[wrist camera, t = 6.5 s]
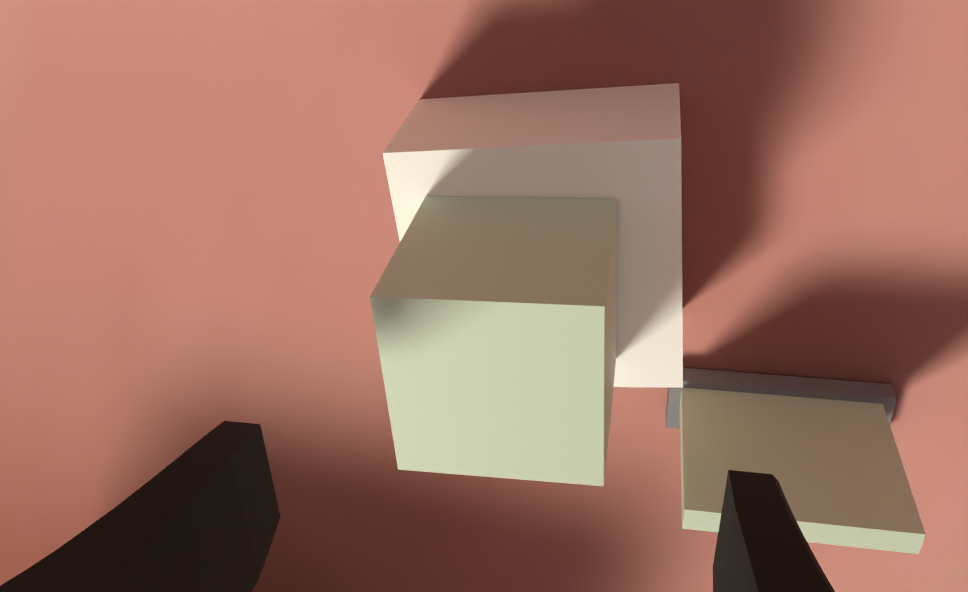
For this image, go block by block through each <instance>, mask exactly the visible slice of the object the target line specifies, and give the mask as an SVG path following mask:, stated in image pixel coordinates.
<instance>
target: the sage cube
mask: <svg viewBox="0 0 968 592" xmlns="http://www.w3.org/2000/svg"><path fill="white" fill-rule="evenodd" d="M617 254H618V199H575V198H521V197H468V196H425V198H424V200H423V202H422V203H421V205H420V207H419V209H418V211H417V213H416V214H415V216H414V218H413V220H412V222H411V223H410V225H409V227H408V229H407V231H406V233H405V234H404V236H403V238H402V240H401V242H400V243H399V245H398V247H397V249H396V251H395V252H394V254H393V256H392V258H391V260H390V262H389V263H388V265H387V267H386V269H385V271H384V272H383V274H382V276H381V278H380V280H379V282H378V283H377V285H376V287H375V289H374V291H373V292H372V294H371V296H370V298H371V305H372V311H373V317H374V323H375V329H376V336H377V342H378V348H379V354H380V361H381V367H382V373H383V379H384V385H385V392H386V398H387V404H388V410H389V416H390V423H391V429H392V435H393V441H394V447H395V454H396V460H397V466H398V470H410V471H422V472H434V473H447V474H459V475H471V476H484V477H496V478H508V479H521V480H533V481H545V482H557V483H570V484H582V485H594V486H604V477H605V467H606V457H607V446H608V436H609V426H610V416H611V406H612V396H613V385H614V375H615V365H616V324H617Z"/></svg>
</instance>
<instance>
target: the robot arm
mask: <svg viewBox="0 0 968 592" xmlns="http://www.w3.org/2000/svg"><path fill="white" fill-rule="evenodd" d="M279 519H280V514H279V509H278V504H277V500H276V495H275V491H274V486H273V481H272V477H271V472H270V468H269V463H268V458H267V454H266V449H265V445H264V440H263V435H262V431H261V426H260V424H250V423H240V422H230V421H224V422H222V423H221V424H220V425H218V426H217V427H216V428H215V429H213V430H212V431H211V432H209V433H208V434H207V435H206V436H204V437H203V438H202V439H201V440H199V441H198V442H197V443H196V444H194V445H193V446H192V447H191V448H190V449H188V450H187V451H186V452H185V453H183V454H182V455H181V456H180V457H178V458H177V459H176V460H175V461H173V462H172V463H171V464H170V465H169V466H167V467H166V468H165V469H164V470H162V471H161V472H160V473H159V474H157V475H156V476H155V477H154V478H152V479H151V480H150V481H148V482H147V483H146V484H145V485H143V486H142V487H141V488H140V489H138V490H137V491H136V492H134V493H133V494H132V495H131V496H129V497H128V498H127V499H126V500H124V501H123V502H122V503H121V504H119V505H118V506H117V507H115V508H114V509H113V510H111V511H110V512H108V513H107V514H106V515H104V516H103V517H102V518H100V519H99V520H97V521H96V522H95V523H93V524H92V525H90V526H89V527H88V528H86V529H85V530H84V531H82V532H81V533H79V534H78V535H77V536H75V537H74V538H73V539H71V540H70V541H68V542H67V543H66V544H64V545H63V546H61V547H60V548H59V549H57V550H56V551H54V552H53V553H51V554H50V555H48V556H47V557H45V558H44V559H42V560H41V561H39V562H38V563H36V564H35V565H33V566H31V567H30V568H28V569H27V570H25V571H24V572H22V573H20V574H19V575H17V576H16V577H14V578H12V579H11V580H9V581H7V582H6V583H4V584H3V585H1V586H0V592H252V590H253V588H254V586H255V584H256V582H257V580H258V578H259V576H260V573H261V571H262V568H263V565H264V563H265V560H266V557H267V554H268V552H269V549H270V546H271V543H272V540H273V537H274V534H275V531H276V528H277V525H278V522H279ZM713 592H835V591H834V589H833V588H832V586H831V584H830V583H829V581H828V579H827V578H826V576H825V574H824V572H823V571H822V569H821V567H820V565H819V564H818V562H817V560H816V558H815V556H814V554H813V553H812V551H811V549H810V547H809V545H808V543H807V541H806V539H805V537H804V535H803V533H802V531H801V529H800V527H799V525H798V523H797V521H796V519H795V517H794V515H793V513H792V511H791V509H790V506H789V504H788V502H787V500H786V497H785V495H784V493H783V491H782V488H781V486H780V483H779V481H778V480H777V479H776V478H775V477H774V476H773V475H772V474H766V473H755V472H745V471H735V470H728V475H727V481H726V487H725V494H724V500H723V506H722V513H721V519H720V525H719V532H718V538H717V544H716V551H715V557H714V563H713Z"/></svg>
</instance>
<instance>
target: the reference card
mask: <svg viewBox="0 0 968 592" xmlns="http://www.w3.org/2000/svg"><path fill="white" fill-rule="evenodd" d="M896 400H897V397H896V394H895V391H894V389H893V386H892V384H886V383H873V382H860V381H847V380H834V379H822V378H809V377H796V376H783V375H770V374H757V373H745V372H732V371H719V370H706V369H693V368H683V388H673V387H668V396H667V406H666V427H671V428H680V450H681V501H682V529H691V530H700V531H710V532H719V525H720V519H721V513H722V506H723V500H724V494H725V487H726V481H727V475H728V470H735V471H745V472H755V473H766V474H772V475H773V476H774V477H775V478H776V479H777V480H778V481H779V483H780V486H781V488H782V491H783V493H784V495H785V497H786V500H787V502H788V504H789V506H790V509H791V511H792V513H793V515H794V517H795V519H796V521H797V523H798V525H799V527H800V529H801V531H802V533H803V535H804V537H805V539H806V541H807V542H812V543H821V544H830V545H840V546H849V547H858V548H868V549H877V550H886V551H895V552H905V553H914V554H919V552H920V549H921V546H922V543H923V540H924V537H925V535H926V534H925V531H924V528H923V525H922V522H921V519H920V516H919V513H918V510H917V507H916V504H915V501H914V498H913V495H912V492H911V489H910V486H909V482H908V479H907V476H906V473H905V470H904V467H903V464H902V461H901V458H900V455H899V452H898V449H897V446H896V443H895V440H894V437H893V434H892V431H891V427H890V422H891V418H892V415H893V411H894V407H895V404H896Z"/></svg>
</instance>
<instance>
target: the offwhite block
mask: <svg viewBox="0 0 968 592" xmlns="http://www.w3.org/2000/svg"><path fill="white" fill-rule="evenodd" d="M383 158H384V163H385V168H386V173H387V178H388V183H389V188H390V194H391V199H392V204H393V209H394V214H395V219H396V224H397V229H398V235H399V240H400V242H401V240H402V238H403V236H404V234H405V233H406V231H407V229H408V227H409V225H410V223H411V222H412V220H413V218H414V216H415V214H416V213H417V211H418V209H419V207H420V205H421V203H422V202H423V200H424V198H425V196H468V197H521V198H575V199H618V254H617V324H616V365H615V375H614V385H613V387H673V388H683V331H682V176H681V119H680V94H679V83H672V84H656V85H640V86H624V87H608V88H592V89H576V90H560V91H544V92H528V93H512V94H496V95H480V96H464V97H448V98H432V99H420V100H419V101H418V103H417V104H416V105H415V107H414V108H413V110H412V111H411V113H410V114H409V116H408V117H407V118H406V120H405V121H404V123H403V124H402V126H401V127H400V129H399V130H398V132H397V133H396V134H395V136H394V137H393V139H392V140H391V142H390V143H389V145H388V146H387V148H386V149H385V150H384V152H383Z"/></svg>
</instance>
